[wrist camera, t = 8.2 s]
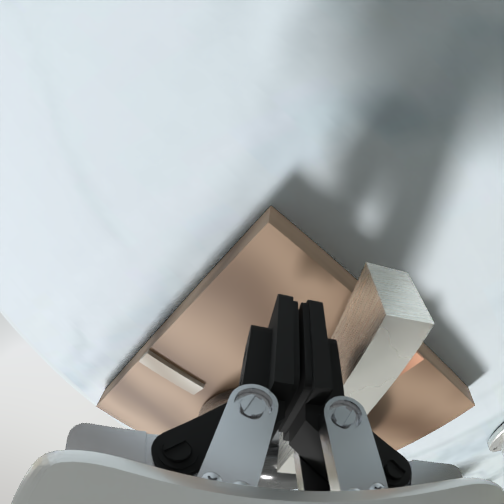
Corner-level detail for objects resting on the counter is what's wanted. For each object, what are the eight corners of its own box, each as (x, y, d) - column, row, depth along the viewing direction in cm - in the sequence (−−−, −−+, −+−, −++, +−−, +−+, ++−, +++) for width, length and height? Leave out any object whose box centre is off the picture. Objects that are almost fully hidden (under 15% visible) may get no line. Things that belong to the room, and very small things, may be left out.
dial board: (270, 205, 14) (268, 225, 12) (467, 387, 19) (476, 408, 17) (104, 389, 23) (95, 408, 21) (285, 475, 28) (284, 492, 26)
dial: (328, 467, 22) (328, 510, 18) (193, 447, 22) (182, 491, 18) (478, 277, 12) (523, 337, 8) (232, 212, 12) (203, 275, 8)
